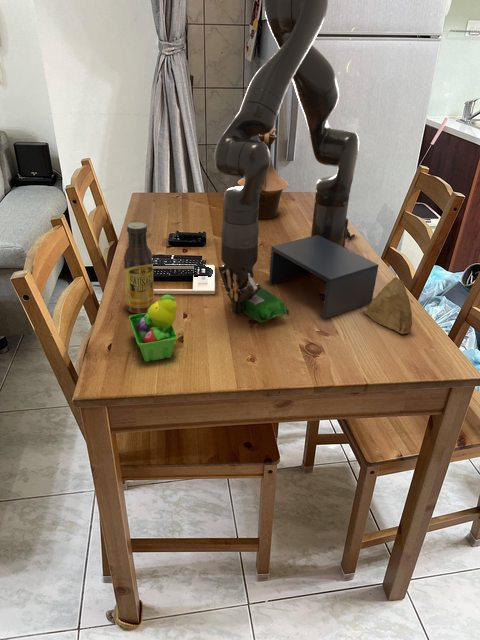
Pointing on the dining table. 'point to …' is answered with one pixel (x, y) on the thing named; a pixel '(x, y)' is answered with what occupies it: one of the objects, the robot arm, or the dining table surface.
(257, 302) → the snack package
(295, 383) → the dining table surface
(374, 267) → the open shelf stand
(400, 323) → the rock
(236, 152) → the robot arm
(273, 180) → the brown cone topped pot
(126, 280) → the sauce bottle
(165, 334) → the fruit basket
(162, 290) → the photo frame
